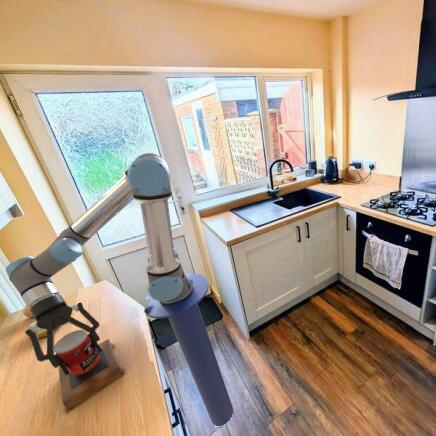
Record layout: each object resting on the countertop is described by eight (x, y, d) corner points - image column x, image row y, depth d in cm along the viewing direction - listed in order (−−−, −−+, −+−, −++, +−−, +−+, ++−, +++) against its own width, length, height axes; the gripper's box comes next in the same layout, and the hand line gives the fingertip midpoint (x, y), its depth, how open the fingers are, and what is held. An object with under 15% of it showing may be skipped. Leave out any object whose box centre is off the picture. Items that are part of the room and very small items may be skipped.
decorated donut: (26, 345, 93) (21, 338, 92) (33, 327, 101) (28, 320, 100) (61, 330, 98) (56, 323, 97) (64, 314, 107) (60, 308, 105)
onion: (31, 322, 104) (22, 309, 101) (24, 316, 108) (15, 304, 105) (54, 309, 111) (46, 297, 108) (47, 304, 114) (39, 292, 111)
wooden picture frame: (112, 345, 89) (108, 338, 88) (123, 373, 78) (119, 366, 77) (63, 374, 80) (58, 367, 79) (68, 410, 70) (62, 403, 68)
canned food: (89, 375, 74) (73, 350, 69) (64, 377, 74) (45, 353, 70) (106, 352, 81) (92, 328, 76) (83, 354, 81) (67, 330, 77)
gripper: (85, 286, 86) (121, 339, 84) (2, 327, 72) (42, 392, 69) (83, 278, 81) (121, 335, 79) (-7, 321, 67) (36, 392, 64)
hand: (84, 362), depth 74 cm, fingers closed on canned food, 8 cm apart
